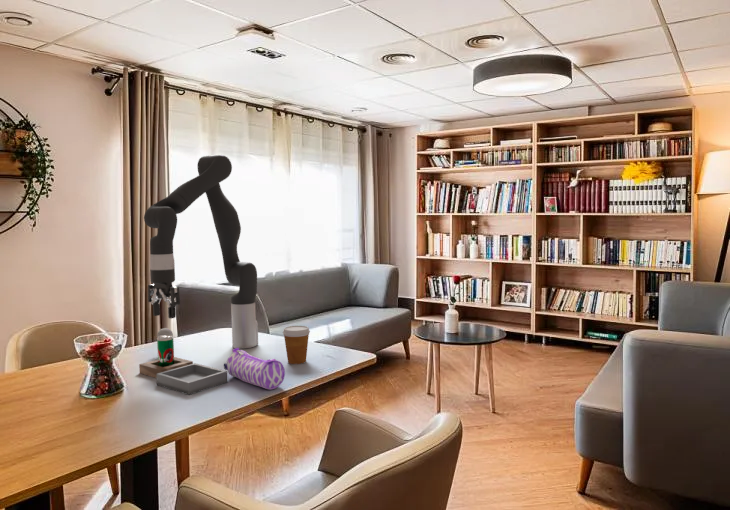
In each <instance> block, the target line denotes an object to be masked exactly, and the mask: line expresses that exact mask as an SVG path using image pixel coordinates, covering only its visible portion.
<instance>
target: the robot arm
mask: <svg viewBox="0 0 730 510" xmlns="http://www.w3.org/2000/svg"><path fill="white" fill-rule="evenodd" d="M232 170H233V166H232V161H231V159H229V157H228V156H226V155H223V154H211V155H203V156H201V157H199V159H198V160H197V171H198V175H197V176H196V177H194V178H191V179H189V180H188V181H186V182H184V183H182V184H180V185H179V186H177V188H176V189H174V190H173V191H172V192H171V193H170V194H169V195H168V196H167V197H164V198H163V199H160V200H159V201H157V202H155V203H153V204H152V205H151V206H149V207H148V208H147V210H146V211H145V213H144V215H143V216H144V217H143V220H144V223H145V224H146V226H147V227H149V228H152V229H158V230H157V234H156V235H154V236H152V237H151V238H150V240H149V251H150V255H149V256H150V257H149V272H150V283H151V284H148V285H147V302H148V303H150V304H151V305H152V316H154V317H158V316H161V304H160V303H161V300H163V301H164V302H166V305H167V306H168V307H167V315H168V316H167V317H168V319H175V318H176V315H177V313H176V306H179V305H181V300H180V296H181V295H180V287H179V286H173V283H175V281H176V272H175V257H174V238H175V234H176V229H177V225H178V215H179V214H182V213H184V211H186V210H187V209H188V208H189V207H190V206H191V205H192V204H193V203H195V201H196V200H198V199H199V198H200V197H201V196H203V194H205V195H206V198H207V201H208V204H209V208H210V212H211V215H212V220H213V223H214V228H215V231H216V234H217V238H218V242H219V245H220V246H219V247H220V251H221V255H222V262H223V269H224V274H225V277H226V281H227V282H228V283H229V284H230V285H233V286H239V290H238V292H237V293H236V294H232V296H231V297H230V308H231V309H230V310H231V313H230V314H231V337H232V339H231V340H232V341H231V343H232V348H233V349H235V348H239V350H243V349H251V348H254V347H256V346H257V345H259V325H258V320H256V319H257V318H256V298H257V294H258V272H257V268H256V265H254V263H252V262H247V261H240V258H239V254H238V242H239V240H240V236H241V233H242V226H241V222H240V218H239V215H238V214H239V213H238V212H237V210H236V208H235V206H234V205H233V204H232V203H231V202H230V200H229V199H228V198H227V196H226V195H225V194H224V193H223V190H222V188H221V184H220V183H221V182H223V181H225V180H226V179H228V178H229V177H230V175H231V174H232ZM177 214H178V215H177Z"/></svg>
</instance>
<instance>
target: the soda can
mask: <svg viewBox="0 0 730 510" xmlns="http://www.w3.org/2000/svg"><path fill="white" fill-rule="evenodd" d="M156 341H157V342H156V344H157V345H156V348H157V349H156V351H157V360H158V366H160V367H166V366H170V365H173V364H174V357H175V346H174V345H175V343H174V336H173V337H172V335H161V336H158V338H157V339H156Z"/></svg>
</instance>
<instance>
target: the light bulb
mask: <svg viewBox="0 0 730 510" xmlns="http://www.w3.org/2000/svg"><path fill="white" fill-rule="evenodd" d="M161 335H172V337H173V338H174V333H173V331H172V330H171V329H170V328H168V327H164V328H161V329H159V331H158V332H157V335H156V336H157V339H158V336H161Z"/></svg>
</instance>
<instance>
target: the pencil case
mask: <svg viewBox="0 0 730 510" xmlns="http://www.w3.org/2000/svg"><path fill="white" fill-rule="evenodd" d="M223 368H224V369H223V370H225V371H227V373H228V374H229V375H230V376H231V377H233V378H236V379H239V380H240V381H242V382H244V383H249V384H251V385H254V386H258V387H260V388H263V389H265V390H274V389H275V390H276V389H277V388H278V387H279V386H281V385H282V383H283V382H284V380H285V376H286V370H285V367H284V364H283V363H282V361H280V360H278V359H277V360H276V358H272V359H271V358H270V359H267V360H265V359H263V358H259V357H256V356H254V355H251V354H249V353H248V352H247V351H245V350H243V349H239V348H233V349H232V353H231V355H230V356H229V357H228V358H227V360H226V363H223Z"/></svg>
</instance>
